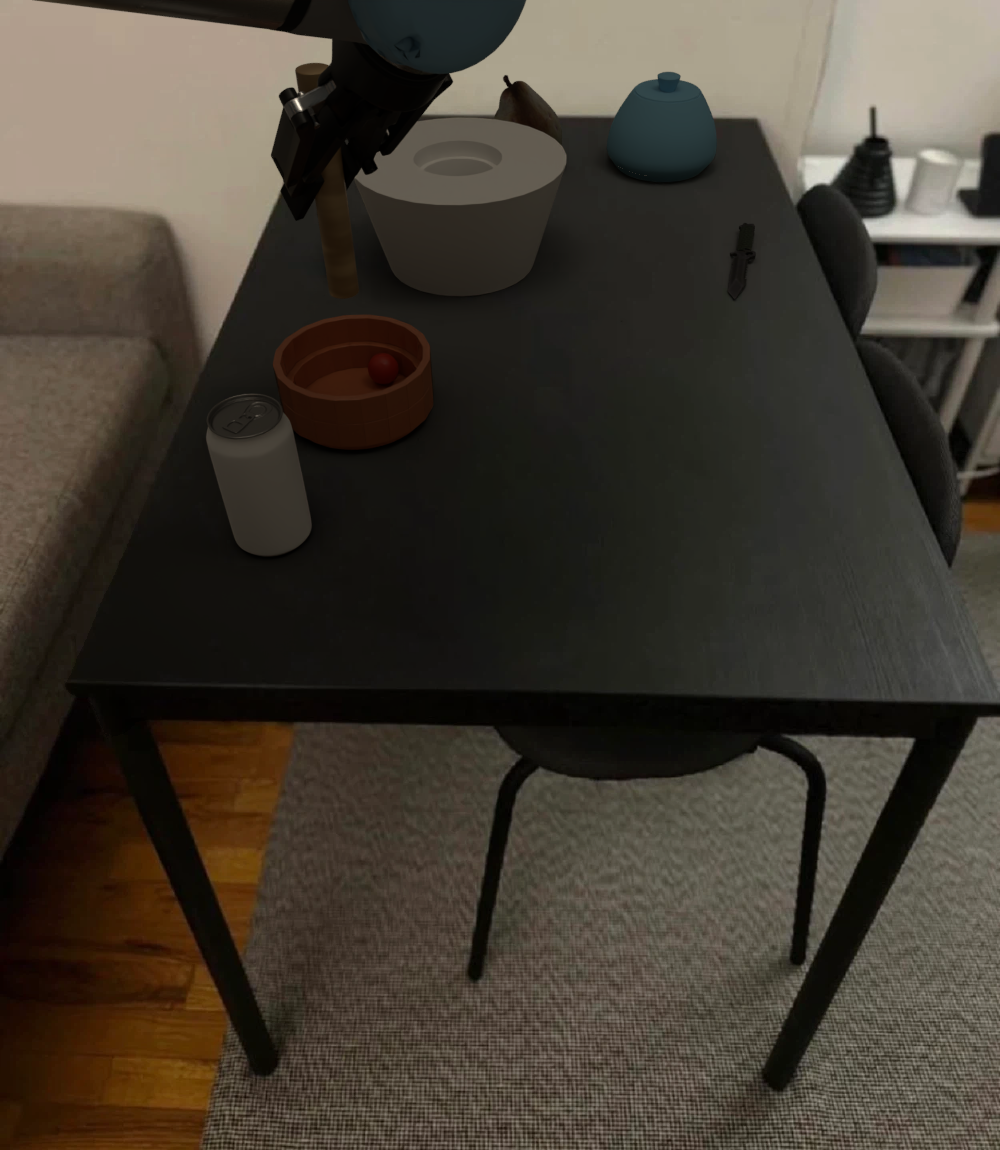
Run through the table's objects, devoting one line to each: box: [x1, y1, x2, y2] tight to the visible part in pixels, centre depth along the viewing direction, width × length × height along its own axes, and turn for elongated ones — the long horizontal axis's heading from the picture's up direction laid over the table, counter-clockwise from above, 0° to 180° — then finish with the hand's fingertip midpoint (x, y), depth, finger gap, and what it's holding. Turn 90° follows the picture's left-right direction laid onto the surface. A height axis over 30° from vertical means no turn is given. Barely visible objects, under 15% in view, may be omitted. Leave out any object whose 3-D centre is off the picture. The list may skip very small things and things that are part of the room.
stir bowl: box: [272, 314, 434, 451], centre depth 89 cm, size 14×14×6 cm
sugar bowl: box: [606, 71, 718, 183], centre depth 127 cm, size 15×15×12 cm
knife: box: [727, 222, 757, 300], centre depth 110 cm, size 18×1×3 cm
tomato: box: [368, 353, 399, 384], centre depth 91 cm, size 3×3×3 cm
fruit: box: [493, 74, 563, 146], centre depth 126 cm, size 10×9×12 cm
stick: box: [294, 62, 360, 300], centre depth 75 cm, size 3×3×18 cm
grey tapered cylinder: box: [353, 117, 567, 297], centre depth 107 cm, size 24×24×12 cm
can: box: [205, 393, 313, 558], centre depth 74 cm, size 6×6×12 cm
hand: (308, 199), depth 79 cm, fingers closed on stick, 2 cm apart
